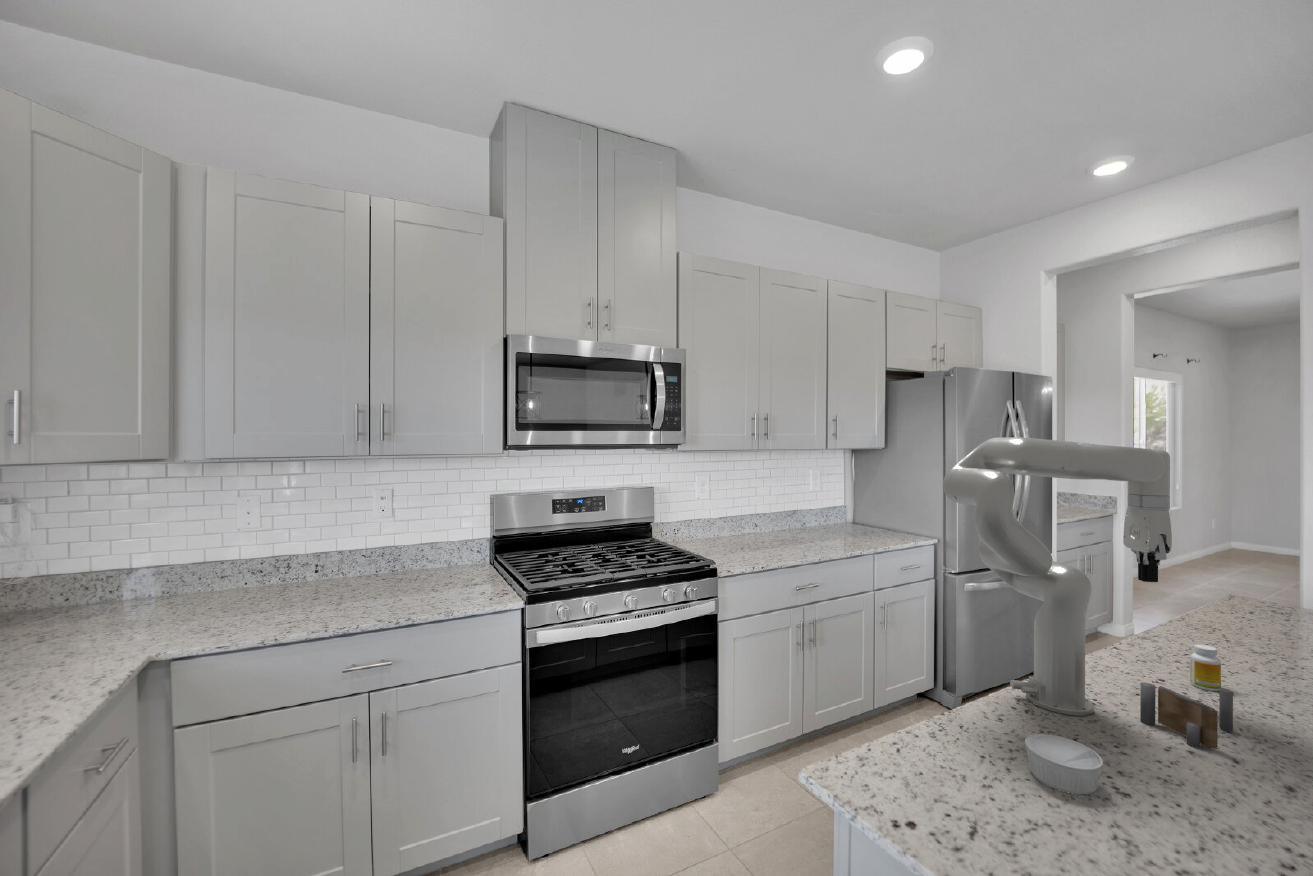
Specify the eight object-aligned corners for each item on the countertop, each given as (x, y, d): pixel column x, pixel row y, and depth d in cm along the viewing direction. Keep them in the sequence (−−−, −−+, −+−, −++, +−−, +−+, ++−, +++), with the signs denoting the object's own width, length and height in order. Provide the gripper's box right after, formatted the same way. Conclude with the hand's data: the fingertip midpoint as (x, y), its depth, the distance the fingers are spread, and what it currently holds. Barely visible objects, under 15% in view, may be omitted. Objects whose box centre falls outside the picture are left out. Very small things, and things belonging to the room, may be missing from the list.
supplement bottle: (1227, 692, 136) (1227, 652, 136) (1200, 690, 137) (1200, 650, 138) (1210, 683, 142) (1210, 644, 142) (1184, 681, 143) (1185, 642, 143)
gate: (1157, 722, 120) (1157, 686, 120) (1163, 722, 120) (1163, 686, 120) (1210, 748, 110) (1210, 708, 110) (1217, 747, 110) (1217, 708, 110)
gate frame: (1192, 748, 111) (1193, 706, 111) (1137, 720, 122) (1137, 682, 122) (1203, 747, 111) (1203, 706, 111) (1147, 719, 122) (1147, 682, 122)
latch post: (1224, 732, 117) (1224, 692, 118) (1216, 727, 119) (1216, 688, 120) (1235, 733, 117) (1235, 693, 117) (1227, 728, 119) (1228, 689, 119)
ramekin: (1107, 808, 92) (1107, 775, 92) (1025, 785, 98) (1025, 755, 98) (1098, 775, 102) (1099, 745, 102) (1024, 756, 108) (1024, 728, 108)
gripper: (1111, 499, 142) (1110, 573, 141) (1150, 505, 127) (1150, 588, 127) (1146, 499, 140) (1145, 574, 140) (1190, 506, 125) (1189, 590, 125)
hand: (1147, 581), depth 133 cm, fingers closed
